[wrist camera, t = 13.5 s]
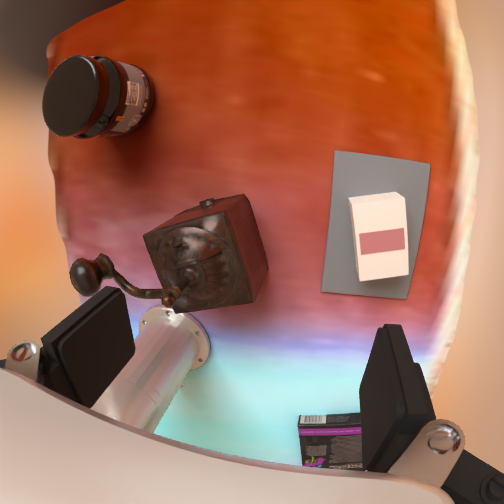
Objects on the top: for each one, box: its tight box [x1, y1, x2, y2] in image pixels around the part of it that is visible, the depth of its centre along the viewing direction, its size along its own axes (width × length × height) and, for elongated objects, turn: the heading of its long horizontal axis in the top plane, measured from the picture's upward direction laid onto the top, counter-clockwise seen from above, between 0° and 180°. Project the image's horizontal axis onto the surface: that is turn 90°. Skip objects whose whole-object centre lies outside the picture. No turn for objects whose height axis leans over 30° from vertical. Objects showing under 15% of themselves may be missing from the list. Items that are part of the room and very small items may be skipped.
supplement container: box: [42, 55, 154, 139], centre depth 31 cm, size 10×11×12 cm
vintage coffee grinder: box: [69, 194, 268, 314], centre depth 33 cm, size 16×11×18 cm
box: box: [298, 413, 365, 471], centre depth 49 cm, size 14×4×20 cm
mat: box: [321, 151, 430, 299], centre depth 35 cm, size 18×12×1 cm, turn 179°
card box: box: [348, 192, 409, 281], centre depth 33 cm, size 6×9×4 cm, turn 12°
